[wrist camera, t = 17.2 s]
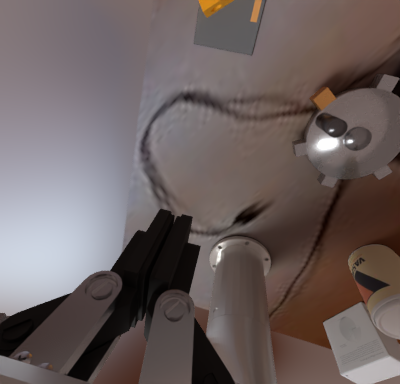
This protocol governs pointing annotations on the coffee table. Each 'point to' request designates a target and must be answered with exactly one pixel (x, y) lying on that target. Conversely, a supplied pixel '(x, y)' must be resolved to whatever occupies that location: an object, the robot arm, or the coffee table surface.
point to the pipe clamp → (213, 6)
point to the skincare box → (362, 347)
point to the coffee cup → (379, 285)
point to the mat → (230, 26)
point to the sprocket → (353, 131)
